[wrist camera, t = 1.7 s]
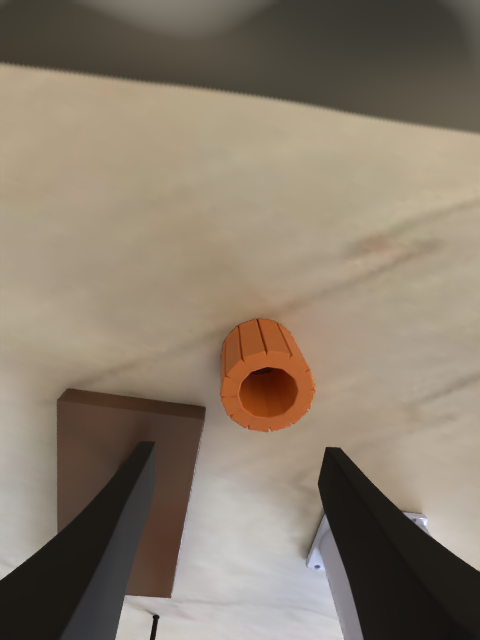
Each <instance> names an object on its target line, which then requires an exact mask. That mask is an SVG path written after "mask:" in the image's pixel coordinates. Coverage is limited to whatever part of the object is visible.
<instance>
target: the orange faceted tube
mask: <svg viewBox="0 0 480 640" xmlns="http://www.w3.org/2000/svg"><path fill="white" fill-rule="evenodd" d="M265 367H272V368H274V369H273V370H272V371H271V372H267V373H264V374H261V375H258V374H252V373H251V372H252V371H256V370H259V369H262V368H265ZM314 388H315V384H314V381H313V377H312V374H311V371H310V369H309V367H308V365H307V363H306V361H305V359H304V357H303V355H302V354H301V352H300V350H299V348H298V346H297V344H296V342H295V340H294V338H293V336H292V335H291V333H290V332H289V331H288V330H286V329H285V328H284V327H283V326H282V325H280V324H279V323H277V324H276V322H275V321H269V320H264V319H258V322H257V320H256V319H254V320H251V321H248V322H245V323H242V324H239V327H238V326H236V327H235V329H234V330H233V331H232V332H231V333H230V334H229V335H228V336H227V337H226V341H224V345H223V350H222V355H221V386H220V396H221V401H222V403H223V406H224V408H225V410H226V413H227V415H228V416H229V415H230V418H231V419H233V420H234V421H235V422H237V423H238V424H240V425H241V426H243V427H244V428H247V427H248V429H249V430H256V431H263V432H268V431H269V428H270V430H271V431H276V430H279V429H282V428H285V427H289V426H290V425H291V423H292V424H295V423H296V422H297V421H298V420H299V419H300V418H301V417H302V416H303V415H304V414H305V413H307V412H308V410H307V408H308V409H310V406H311V403H312V400H313V397H314V394H315V389H314ZM290 422H291V423H290Z"/></svg>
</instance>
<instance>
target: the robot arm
mask: <svg viewBox="0 0 480 640" xmlns="http://www.w3.org/2000/svg"><path fill="white" fill-rule="evenodd" d="M155 482H156V448H155V442H152V441H140V442H139V443H138V444H137V445H136V446H135V448H134V449H133V451H132V452H131V454H130V455H129V456H128V458H127V459H126V460H125V462H124V463H123V464H122V466H121V467H120V468H119V469H118V471H117V472H116V473H115V474H114V476H113V477H112V478H111V479H110V480H109V482H108V483H107V484H106V485H105V486H104V487H103V489H102V490H101V491H100V492H99V493H98V494H97V495H96V496H95V497H94V499H93V500H92V501H91V502H90V503H89V504H88V505H87V506H86V507H85V508H84V509H83V510H82V511H81V512H80V513H79V514H78V515H77V516H76V517H75V518H74V519H73V520H72V521H71V522H70V523H69V524H68V525H67V526H66V527H65V528H64V529H63V530H61V531H60V532H59V533H58V534H57V535H56V536H55V537H54V538H53V539H51V540H50V541H49V542H48V543H47V544H46V545H45V546H43V547H42V548H41V549H40V550H39V551H37V552H36V553H35V554H34V555H32V556H31V557H30V558H29V559H27V560H26V561H25V562H24V563H22V564H21V565H20V566H18V567H17V568H16V569H15V570H13V571H12V572H11V573H10V574H8V575H7V576H6V577H4V578H3V579H2V580H0V640H115V638H116V633H117V628H118V624H119V619H120V615H121V610H122V606H123V601H124V597H125V592H126V588H127V583H128V579H129V576H130V572H131V568H132V565H133V562H134V559H135V555H136V552H137V549H138V546H139V542H140V539H141V536H142V533H143V530H144V526H145V523H146V520H147V516H148V513H149V510H150V506H151V502H152V497H153V492H154V487H155ZM318 487H319V491H320V496H321V500H322V504H323V509H324V512H325V514H324V517H323V519H322V522H321V524H320V527H319V530H318V532H317V535H316V537H315V540H314V542H313V545H312V547H311V550H310V553H309V555H308V558H307V560H306V567H307V568H308V569H311V570H323V571H326V575H327V579H328V582H329V586H330V589H331V593H332V597H333V600H334V604H335V607H336V611H337V615H338V618H339V622H340V626H341V629H342V633H343V636H344V640H480V572H479V571H478V570H476V569H475V568H473V567H472V566H470V565H469V564H467V563H466V562H464V561H463V560H462V559H460V558H459V557H457V556H456V555H455V554H453V553H452V552H451V551H449V550H448V549H447V548H445V547H444V546H443V545H441V544H440V543H439V542H437V541H436V540H435V539H433V538H432V536H431V535H430V533H429V531H428V530H427V528H426V525H427V524H428V521H429V519H428V518H427V516H426V515H424V514H417V513H407V512H402V511H400V510H399V509H398V508H397V507H396V506H395V505H394V504H393V503H392V502H391V501H390V500H389V499H388V498H387V497H386V496H385V495H384V494H383V493H382V492H381V491H380V490H379V489H378V488H377V487H376V486H375V485H374V484H373V483H372V482H371V481H370V480H369V479H368V478H367V477H366V476H365V475H364V474H363V472H362V471H361V470H360V469H359V468H358V467H357V466H356V465H355V464H354V463H353V461H352V460H351V459H350V458H349V457H348V456H347V455H346V454H345V453H344V452H343V451H342V449H341V448H337V447H326V449H325V453H324V458H323V462H322V467H321V471H320V476H319V480H318Z"/></svg>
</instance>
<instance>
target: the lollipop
mask: <svg viewBox="0 0 480 640" xmlns="http://www.w3.org/2000/svg"><path fill="white" fill-rule="evenodd" d="M159 618H160V617H159V616H158V615H154V616H153V619H154V620H153V625H152V631H151V636H150V640H155V637H156V630H157V624H158V619H159Z"/></svg>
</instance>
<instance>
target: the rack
mask: <svg viewBox="0 0 480 640" xmlns="http://www.w3.org/2000/svg"><path fill="white" fill-rule="evenodd" d="M205 411H206V408H205V407H200V406H192V405H185V404H178V403H170V402H163V401H156V400H148V399H141V398H134V397H126V396H119V395H112V394H104V393H97V392H90V391H82V390H75V389H67V390H66V391H65V392H64V393H63V394H62V395H61V397H60V398H59V399H58V400H57V517H58V533H59V532H60V531H61V530H63V529H64V528H65V527H66V526H67V525H68V524H69V523H70V522H71V521H72V520H73V519H74V518H75V517H76V516H77V515H78V514H79V513H80V512H81V511H82V510H83V509H84V508H85V507H86V506H87V505H88V504H89V503H90V502H91V501H92V500H93V499H94V497H95V496H96V495H97V494H98V493H99V492H100V491H101V490H102V489H103V487H104V486H105V485H106V484H107V483H108V482H109V480H110V479H111V478H112V477H113V476H114V474H115V473H116V472H117V471H118V469H119V468H120V467H121V466H122V464H123V463H124V462H125V460H126V459H127V458H128V456H129V455H130V454H131V452H132V451H133V449H134V448H135V446H136V445H137V444H138V443H139V442H140V441H152V442H155V448H156V482H155V487H154V492H153V497H152V502H151V506H150V510H149V513H148V516H147V520H146V523H145V526H144V530H143V533H142V536H141V539H140V542H139V546H138V549H137V552H136V555H135V559H134V562H133V565H132V568H131V572H130V576H129V579H128V583H127V588H126V592H125V595H132V596H146V597H161V598H171V596H172V591H173V586H174V580H175V575H176V570H177V564H178V559H179V554H180V548H181V543H182V538H183V532H184V527H185V522H186V516H187V511H188V506H189V500H190V495H191V490H192V484H193V479H194V474H195V469H196V463H197V458H198V453H199V447H200V442H201V437H202V431H203V426H204V421H205Z"/></svg>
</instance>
